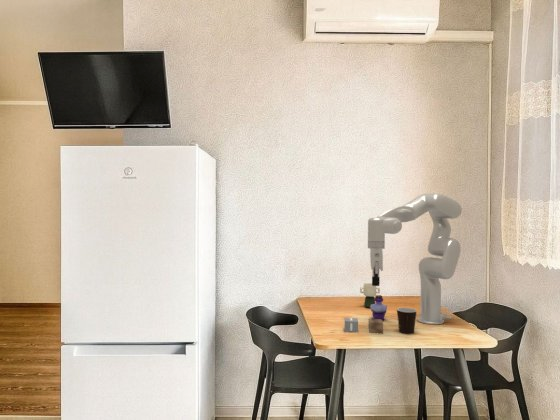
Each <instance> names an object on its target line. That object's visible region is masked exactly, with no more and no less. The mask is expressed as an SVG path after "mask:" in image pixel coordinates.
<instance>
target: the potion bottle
mask: <svg viewBox="0 0 560 420" xmlns="http://www.w3.org/2000/svg"><path fill="white" fill-rule="evenodd" d="M374 301H375V304H371V305H370V307H371V308H370V311H371V312H372V315H371V316H372V319H382V321H383V322H384V321H385V317H386V313H387V310H388V309H387V308H388V305H386V304H384V303H382V302H384V298H383V296H382V295H379V294H376V296H375V297H374Z"/></svg>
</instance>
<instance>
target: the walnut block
mask: <svg viewBox="0 0 560 420" xmlns="http://www.w3.org/2000/svg"><path fill="white" fill-rule="evenodd" d="M367 324H368V329H369V330H368V334H377V333H378V334H380V335H383V334H384V321H382V319H373V318H368V323H367ZM378 334H377V335H378Z"/></svg>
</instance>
